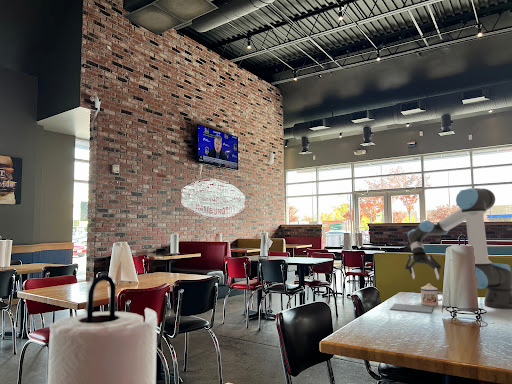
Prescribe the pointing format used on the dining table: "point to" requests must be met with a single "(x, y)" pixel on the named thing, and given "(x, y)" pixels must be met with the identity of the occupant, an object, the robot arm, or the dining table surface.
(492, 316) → the dining table surface
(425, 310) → the mat
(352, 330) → the dining table surface
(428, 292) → the teacup with lid
